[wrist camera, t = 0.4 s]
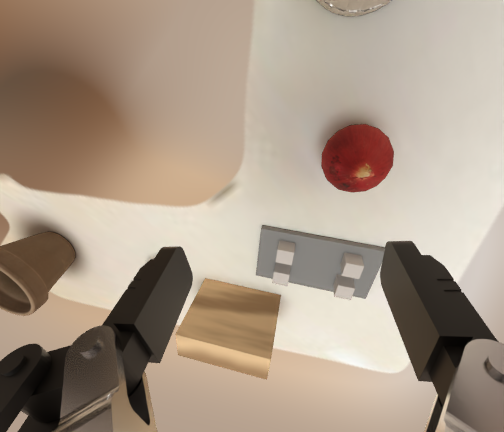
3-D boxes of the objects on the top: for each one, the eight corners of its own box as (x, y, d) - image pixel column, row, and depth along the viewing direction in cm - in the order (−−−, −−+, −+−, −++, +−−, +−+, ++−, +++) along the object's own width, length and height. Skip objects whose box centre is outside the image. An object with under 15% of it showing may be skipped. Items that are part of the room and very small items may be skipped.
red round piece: (349, 186, 27) (360, 223, 20) (308, 152, 26) (306, 180, 20) (395, 144, 24) (426, 172, 17) (352, 104, 23) (367, 117, 17)
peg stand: (262, 225, 32) (258, 237, 30) (385, 247, 30) (391, 262, 27) (256, 271, 36) (252, 285, 34) (364, 294, 34) (368, 310, 32)
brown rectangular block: (205, 278, 39) (175, 334, 31) (280, 294, 38) (270, 359, 29) (206, 297, 42) (178, 355, 33) (277, 314, 40) (266, 379, 31)
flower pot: (27, 249, 46) (-38, 290, 37) (28, 205, 40) (-50, 241, 31) (84, 281, 47) (32, 327, 38) (93, 242, 41) (35, 287, 32)
